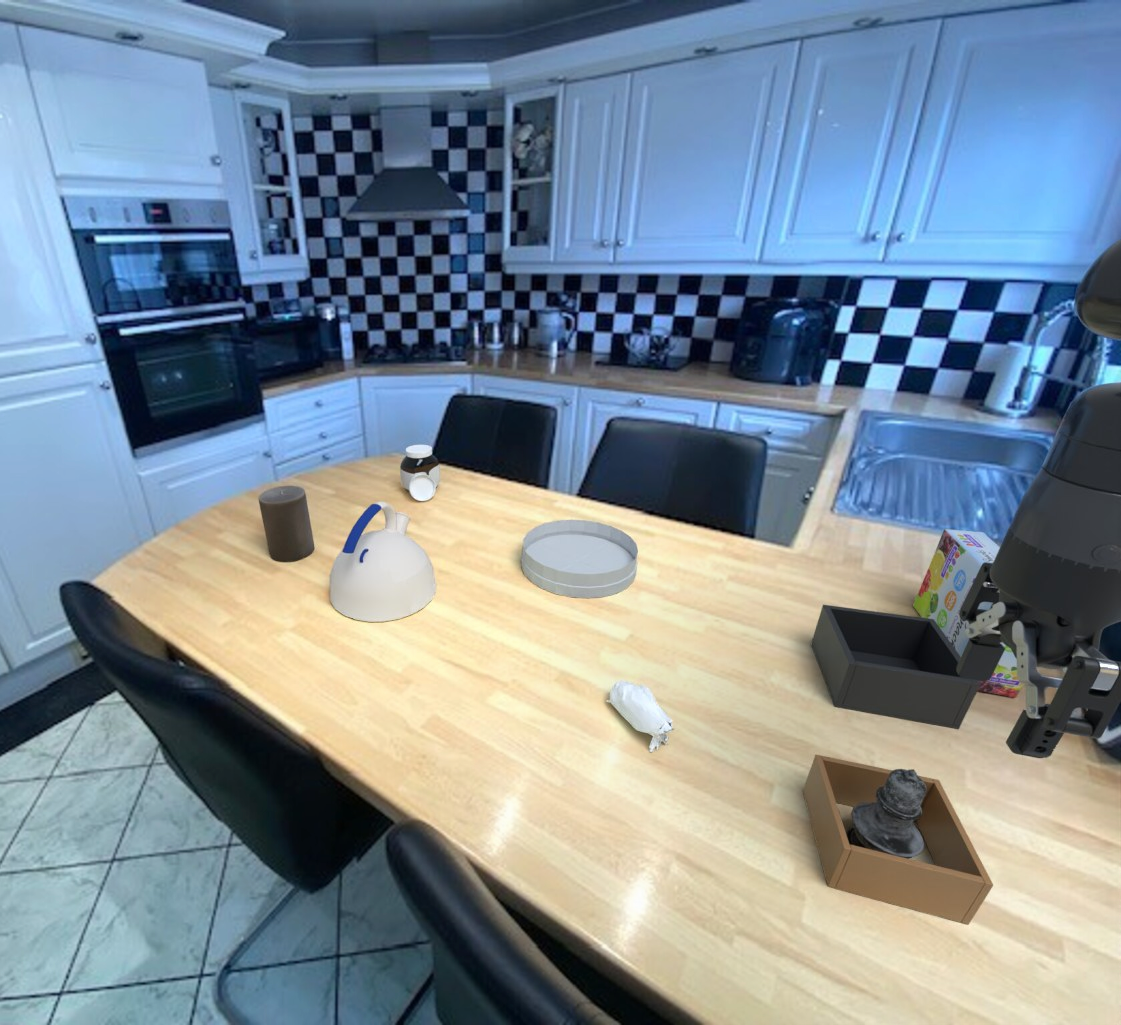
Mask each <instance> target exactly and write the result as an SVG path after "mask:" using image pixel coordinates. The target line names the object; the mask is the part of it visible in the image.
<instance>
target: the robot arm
mask: <svg viewBox="0 0 1121 1025" xmlns="http://www.w3.org/2000/svg"><path fill="white" fill-rule="evenodd" d="M1074 309H1075V313H1076V315H1077V317H1078V320H1079V321H1080V323H1081V324H1082V325H1083V326H1084V328H1086V329H1087V330H1088V331H1089V332H1091V333H1093V334H1095V335H1097V336H1100V337H1102V338H1103V339H1109V340H1113V341H1118V342H1121V237H1119V238H1117V240H1115V241H1114V242H1113V243H1111V244H1110V245H1109V246H1107V247H1106V248H1105V249H1104V250H1103V251H1102V252H1101V253H1100V254H1098V256H1097V257H1096V258H1095V259H1093V261H1092V262H1091V263H1090V265H1089V266H1088V267H1087V269H1086V270H1085V272H1084V273H1083V275H1082V276H1081V278H1080V280H1079V282H1078V285H1077V288H1076V291H1075V294H1074ZM1023 493H1024V494H1023V495H1022V498H1021V499H1020V503H1018V506H1017V509H1016V511H1015V513H1014V515H1013V517H1012V519H1011V522H1010V524H1009V526H1008V529H1007V531H1006V533H1005V535H1004V537H1003V540H1002V542H1001V544H1000V546H999V547H1000V549H999V551H998V553H997V555H996V558H995V560H994V562H993V563H987V562H984V563H983V564H982V566H981V568H980V570H979V572H978V574H977V576H976V578H975V580H974V582H973V584H972V586H971V588H970V590H969V592H968V594H967V596H966V598H965V600H964V603H963V605H962V607H961V609H960V611H959V616H960V619H961V620H965V621H968V622H969V625H968V626H967V628H966V635H967V637H968V638H970V639H969V641H968V643H967V645H966V647H965V650H964V652H963V654H962V656H961V658H960V661H959V663H958V665H957V667H956V671H957V673H958V674H959V675H960V677H962V678H965V679H971V680H977V681H988V680H990V679H991V677H992V675H993V673H994V671H995V669H996V667H997V665H998V663H999V661H1000V659H1001V657H1002V655H1003V653H1004V651H1005V648H1004V647H1003V645H1002V644H1000V643H1004V644H1005V645H1006V646H1008V647H1009V648H1011V650H1012V652H1013V654H1014V656H1015V658H1016V659H1017V679H1018V681H1019V682H1020V683H1022V684H1024V685H1023V686H1024V687H1025V709H1022V711H1021V713H1020V715H1019V716H1018V718H1017V720H1016V722H1015V724H1014V725H1013V728H1012V730H1011V731H1010V733H1009V735H1008V737H1007V739H1006V741H1005V744H1006V746H1007V747H1008V749H1009V750H1010V751H1011V752H1012V753H1013V754H1015V755H1019V756H1024V757H1030V758H1034V759H1048V757H1051V756H1052V754H1053V753H1054V751H1055V749H1056V748H1057V746H1058V744H1059V743H1060V741H1061V739H1062V737H1063V736H1064V734H1068V735H1074V736H1078V737H1084V738H1091V739H1096V740H1097V739H1100V738H1102V737H1103V735H1104V733H1105V731H1106V730H1107V727H1108V725H1109V724H1110V722H1111V720H1112V718H1113V716H1114V714H1115V713H1116V711H1117V709H1118V707H1119V706H1120V704H1121V661H1117V660H1111V659H1109V658H1108V657H1107V656H1106V655H1104V654H1103V653H1102V652H1101V651H1099V650H1100V643H1101V638H1102V633H1103V630H1104V629H1106V628H1107V627H1110V626H1112V625H1115V624H1117V623H1121V381H1119V382H1107V383H1100V384H1097V385H1093V386H1090V387H1087V388H1086V389H1084V390H1082V391H1081V392H1079V393H1078V394H1077V395H1076V396H1075V397H1074V398H1073V399H1072V401H1071V402H1070V404H1069V405H1068V407H1067V409H1066V412H1065V414H1064V416H1063V417H1062V420H1061V421H1060V425H1059V427H1058V429H1057V431H1056V433H1055V435H1054V438H1053V439H1052V441H1051V444H1050V446H1049V448H1048V450H1047V453H1046V455H1045V457H1044V459H1043V462H1042V465H1041V466H1040V468H1039V470H1038V472H1037V474H1036V475H1035V476H1034V478H1033V479H1032V481H1031V482H1030V484H1029V485H1028V486H1027V488H1026V490H1025V492H1023ZM982 602H991V603H992V605H991V607H990V609H989V610H983V609H978V607H979V605H980V603H982ZM1038 668H1041V669H1047V670H1061V672H1062V673H1063V674H1064V676H1063V677H1062V678H1060V677H1054V676H1048V675H1043V674H1041V673H1040V672H1039V670H1038ZM1048 688H1050V689H1055V690H1056V692H1055V693H1054V696H1053V698H1052V700H1051V702H1050V703H1046V689H1048ZM1082 709H1087V710H1086V712H1085V713H1084V715H1082Z"/></svg>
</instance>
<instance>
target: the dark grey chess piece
mask: <svg viewBox="0 0 1121 1025" xmlns="http://www.w3.org/2000/svg"><path fill="white" fill-rule="evenodd" d="M892 770H893V771H892V772H890V774H889V776H888V778H887V781H886V783H885V785H884V786H883V787H880V788H878V789H877V791H876V798H877V801H876V803H873V802H863V803H859V804H857V805H856V806H855V807H853V808H852V810H851V814H850V815H851V821H852V827H850V828H849V829H848V830H847V832H846V835H847V838H848V841H849V845H854V846H859V847H863V848H867V849H871V850H875V851H879V852H883V853H887V854H891V855H895V856H899V857H903V858H907V859H912V858H915V857H917V856H919V855H920V854H921V853H922V852H923V851H924V847H925V843H924V842H925V841H924V838H923V835H922V833H921V831H920V829H919V828H917V826H916V825H915V824H914V822H915V820H917V819H919V818H920V817H921V815H922V809H921V807H920V805H921V803H922V801H923V798H924V796H925V794H926V791H927V788H926V785H925V783H924V782H923V780H922V779H921V778H920V777H919V776H920V775H918V773H917V771H916V770H915V769H914V768H910V769H905V768H895V769H892Z"/></svg>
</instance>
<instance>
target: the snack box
mask: <svg viewBox="0 0 1121 1025" xmlns="http://www.w3.org/2000/svg"><path fill="white" fill-rule="evenodd" d="M999 549H1000V546H999V545H998V544H997V543H996V542H995V541H994V540H992V539H991V538H990V537H989V535H987V534H986V533H985V532H982V531H971V530H963V529H962V530H961V529H950V528H949V529H948V528H944V529H943V531H942V534H941V536H940V539H939V541H938V544H937V546H936V549H935V551H934V553H933V555H932V558H931V560H930V563H929V566H928V568H927V571H926V573H925V575H924V578H923V580H922V582H921V585H920V588H919V590H918V593H917V595H916V597H915V600H914V601H913V605H912V606H913V609H915V610H916V612H917V613H918V614H919V617H920V618H928V619H934V620H935V622H936V623H937V625H938V626H939V627H940V629H941V630H942V632H943V633H944V634H945V636H946V637H947V638H948V640H949V641H950V643H951V644H952V645H953V647H954V648H955V650H956V651H957V652H958V654H959V655H960V656H962V654H963V652H964V650H965V647H966V645H967V643H968V641H969V639H970V638H968V637H967V635H966V628H967V626H968V625H969V622H968V621H965V620H961V619H960V616H959V611H960V609H961V607H962V605H963V603H964V600H965V598H966V596H967V594H968V592H969V590H970V588H971V586H972V584H973V582H974V580H975V578H976V576H977V574H978V572H979V570H980V568H981V566H982V564H983V563H984V562H987V563H993V562H994V560H995V558H996V555H997V553H998V551H999ZM991 605H992V603H991V602H982V603H980V605H979V607H978V609H983V610H989V609H990V607H991ZM1000 644H1002V645H1003V647H1004V648H1005V651H1004V653H1003V655H1002V657H1001V659H1000V661H999V663H998V665H997V667H996V669H995V671H994V673H993V675H992V677H991V679H990V680H988V681H979V683H980V686H979V689H978V691H977V692H983V693H989V694H994V695H1000V696H1003V697H1009V698H1017V697H1018V695H1019V694H1020V692H1021V690H1022V688H1023V687H1024V686H1025V685H1024V684H1022V683H1020V682H1019V681H1018V679H1017V659H1016V658H1015V656H1014V654H1013V652H1012V650H1011V648H1009V647H1008V646H1006V645H1005V644H1004V643H1000Z"/></svg>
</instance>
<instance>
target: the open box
mask: <svg viewBox="0 0 1121 1025" xmlns="http://www.w3.org/2000/svg"><path fill="white" fill-rule="evenodd" d="M810 646H811V648H812V651H813V653H814V656H815V659H816V661H817V664H818V666H819V669H820V671H821V675H822V678H823V680H824V682H825V685H826V688H827V691H828V693H829V696H830V698H831V701H832V704H833V706H834V707H835V708H840V709H846V710H852V711H856V712H863V713H867V714H873V715H878V716H885V717H890V718H895V719H901V720H906V721H911V722H917V723H923V724H929V725H933V726H939V727H946V728H950V729H956V730H960V728H961V726H962V723H963V721H964V720H965V718H966V715H967V713H968V712H969V709H970V706H971V705H972V703H973V701H974V699H975V697H976V695H977V693H978V692H979V691H978V689H979V686H980V683H979V681H977V680H971V679H965V678H962V677H960V675H959V674H958V673H957V671H956V667H957V665H958V663H959V661H960V658H961V656H960V655H959V654H958V652H957V651H956V650H955V648H954V647H953V645H952V644H951V643H950V641H949V640H948V638H947V637H946V636H945V634H944V633H943V632H942V630H941V629H940V627H939V626H938V625H937V623H936V622H935V620H934V619H928V618H922V617H921V616H913V615H905V614H897V613H891V612H890V613H889V612H882V611H874V610H867V609H861V608H860V609H859V608H852V607H844V606H836V605H829V604H822V606H821V610H820V613H819V617H818V620H817V623H816V626H815V629H814V633H813V636H812V640H811V643H810Z"/></svg>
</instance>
